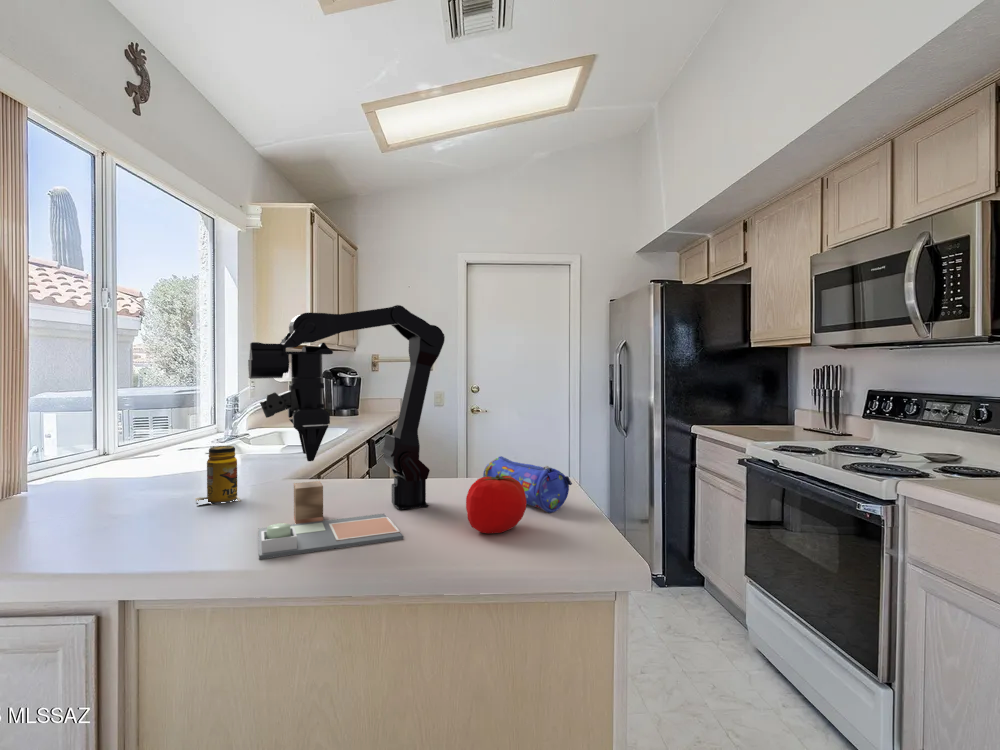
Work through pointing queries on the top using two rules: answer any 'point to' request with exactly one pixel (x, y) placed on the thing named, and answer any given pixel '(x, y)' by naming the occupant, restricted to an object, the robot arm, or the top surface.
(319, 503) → the stamp
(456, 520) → the top surface
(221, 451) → the condiment
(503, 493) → the tomato
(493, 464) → the pencil case
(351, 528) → the picture board
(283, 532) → the button
